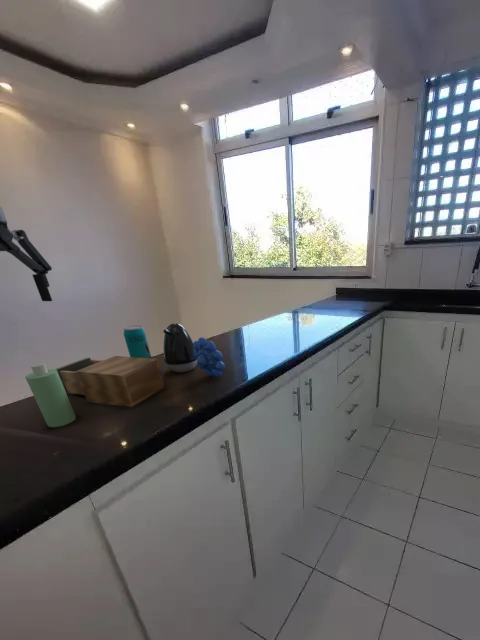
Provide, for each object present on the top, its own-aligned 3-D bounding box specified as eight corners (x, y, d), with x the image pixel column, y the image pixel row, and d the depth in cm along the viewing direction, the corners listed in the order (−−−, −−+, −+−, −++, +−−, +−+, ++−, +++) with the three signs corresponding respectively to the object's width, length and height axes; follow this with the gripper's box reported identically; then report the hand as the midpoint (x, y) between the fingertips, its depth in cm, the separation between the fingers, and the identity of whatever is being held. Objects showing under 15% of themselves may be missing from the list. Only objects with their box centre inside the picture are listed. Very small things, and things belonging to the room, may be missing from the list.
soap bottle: (41, 425, 71) (14, 368, 65) (64, 414, 76) (41, 359, 70) (59, 428, 70) (33, 370, 63) (81, 416, 74) (59, 361, 68)
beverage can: (156, 375, 98) (144, 327, 91) (136, 379, 95) (122, 330, 89) (154, 369, 102) (142, 324, 96) (135, 373, 100) (121, 327, 93)
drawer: (47, 392, 86) (37, 369, 83) (84, 377, 96) (76, 356, 93) (97, 398, 81) (88, 374, 78) (130, 382, 91) (123, 360, 88)
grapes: (187, 378, 95) (179, 339, 89) (203, 370, 100) (196, 334, 95) (215, 384, 89) (208, 343, 84) (231, 376, 95) (225, 337, 89)
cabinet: (87, 401, 82) (75, 371, 78) (123, 383, 93) (115, 355, 89) (131, 407, 78) (121, 375, 74) (164, 387, 89) (157, 358, 85)
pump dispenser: (160, 374, 98) (148, 326, 91) (179, 363, 107) (169, 319, 100) (188, 376, 96) (178, 327, 89) (205, 365, 105) (197, 319, 98)
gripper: (-94, 193, 55) (-33, 315, 64) (47, 207, 76) (77, 298, 85) (-118, 197, 57) (-56, 314, 66) (26, 209, 78) (57, 297, 87)
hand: (19, 305), depth 76 cm, fingers open, 13 cm apart
